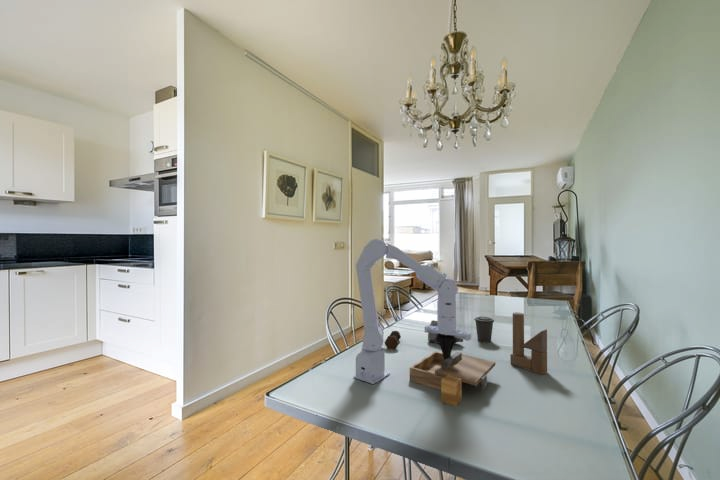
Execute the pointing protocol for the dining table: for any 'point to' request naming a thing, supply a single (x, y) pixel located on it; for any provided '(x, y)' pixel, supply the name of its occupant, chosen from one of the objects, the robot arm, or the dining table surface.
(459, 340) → the mineral rock
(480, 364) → the lid
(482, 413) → the dining table surface
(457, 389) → the brown block
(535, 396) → the dining table surface
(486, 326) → the coffee cup
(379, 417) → the dining table surface
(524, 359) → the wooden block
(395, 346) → the bolt
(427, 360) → the brown wooden open box
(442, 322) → the robot arm
